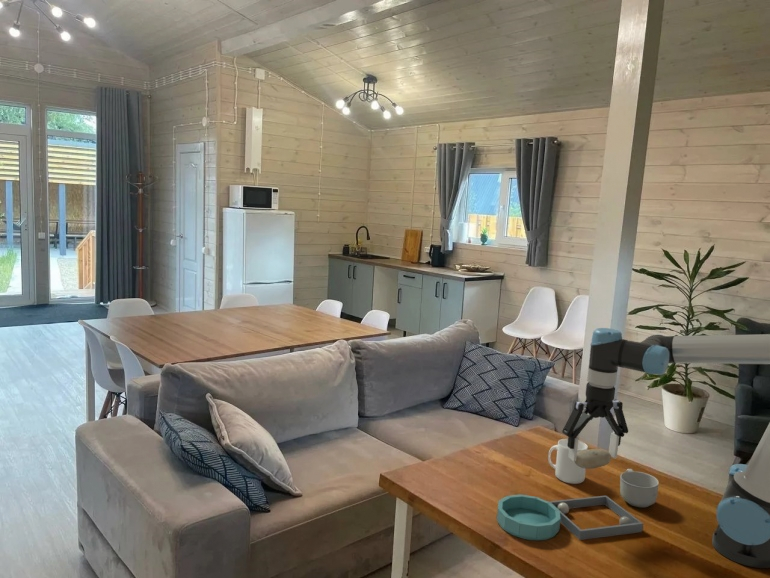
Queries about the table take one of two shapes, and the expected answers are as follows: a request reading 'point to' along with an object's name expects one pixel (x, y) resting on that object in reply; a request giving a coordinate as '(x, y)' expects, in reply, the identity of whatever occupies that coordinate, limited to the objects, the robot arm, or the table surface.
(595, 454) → the stone
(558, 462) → the mug
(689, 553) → the table surface
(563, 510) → the white round ball
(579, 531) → the tray
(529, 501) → the bowl
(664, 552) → the table surface
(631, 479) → the teacup
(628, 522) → the pebble
